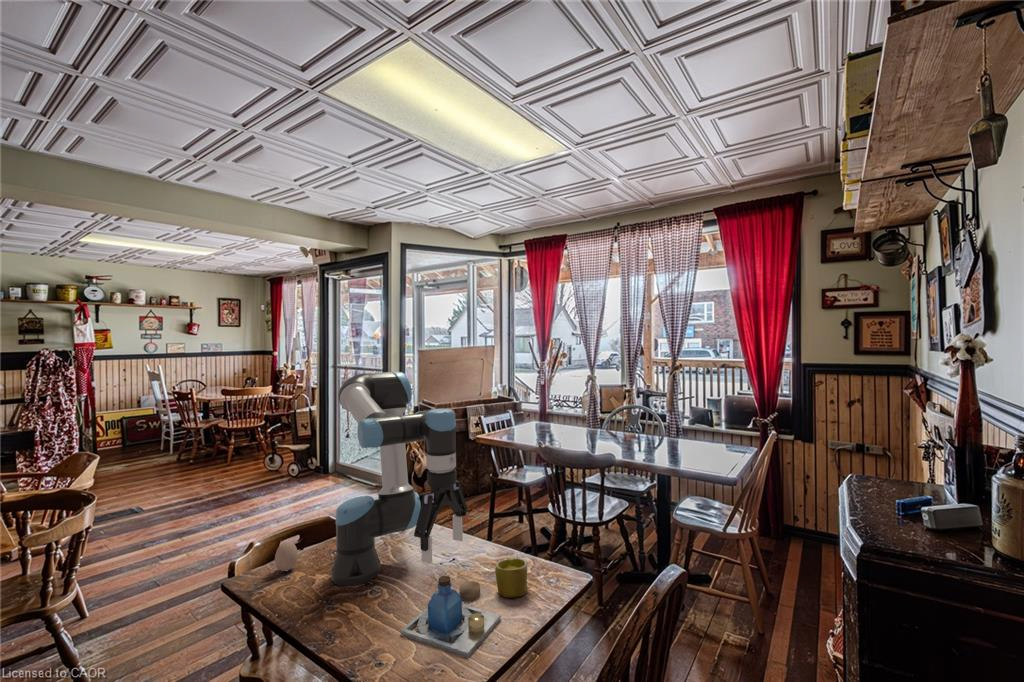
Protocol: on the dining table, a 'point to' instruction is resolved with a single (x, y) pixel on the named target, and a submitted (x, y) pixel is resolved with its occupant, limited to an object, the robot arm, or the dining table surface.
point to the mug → (511, 577)
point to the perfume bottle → (444, 608)
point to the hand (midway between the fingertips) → (443, 550)
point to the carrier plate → (455, 631)
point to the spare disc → (469, 590)
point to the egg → (286, 556)
